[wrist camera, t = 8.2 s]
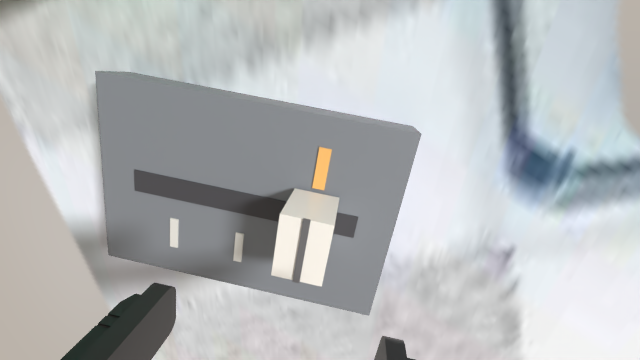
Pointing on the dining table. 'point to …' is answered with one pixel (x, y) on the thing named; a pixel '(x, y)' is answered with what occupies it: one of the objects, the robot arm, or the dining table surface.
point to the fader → (304, 237)
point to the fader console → (245, 183)
